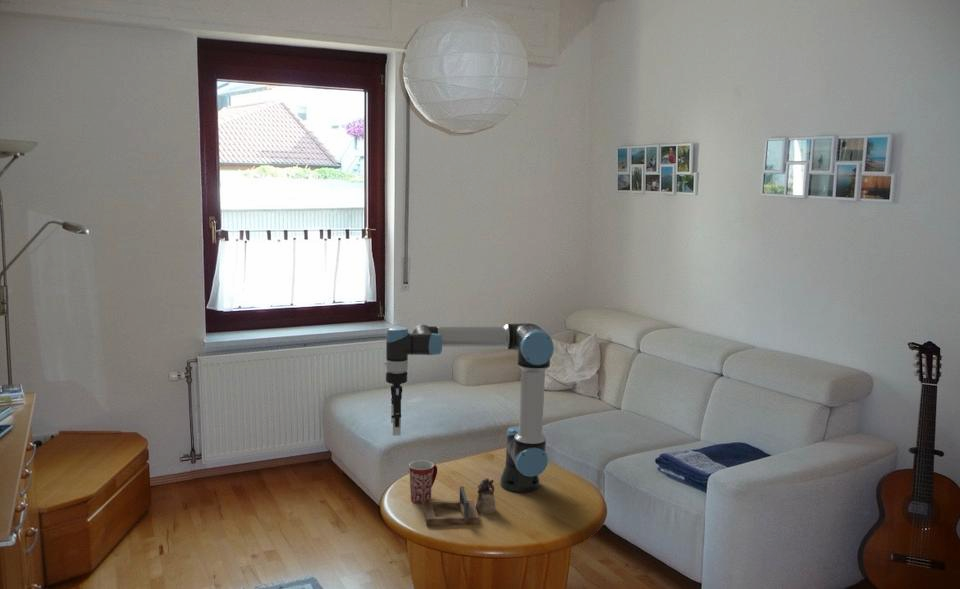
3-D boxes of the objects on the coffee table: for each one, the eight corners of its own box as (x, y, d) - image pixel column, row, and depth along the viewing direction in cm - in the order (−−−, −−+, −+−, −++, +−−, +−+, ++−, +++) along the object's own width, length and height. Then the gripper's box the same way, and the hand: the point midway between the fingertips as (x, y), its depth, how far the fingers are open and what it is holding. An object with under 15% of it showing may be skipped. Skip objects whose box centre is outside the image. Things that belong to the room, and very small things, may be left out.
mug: (420, 507, 286) (421, 471, 284) (403, 499, 292) (403, 464, 289) (444, 497, 295) (445, 462, 293) (427, 490, 301) (428, 455, 299)
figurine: (481, 504, 290) (483, 473, 288) (498, 509, 286) (500, 477, 284) (471, 511, 284) (472, 479, 282) (489, 516, 280) (490, 484, 278)
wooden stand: (473, 507, 287) (473, 486, 286) (478, 524, 274) (479, 502, 272) (423, 508, 284) (423, 487, 283) (426, 526, 271) (427, 503, 270)
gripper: (384, 362, 292) (383, 418, 296) (387, 380, 268) (386, 440, 271) (405, 362, 293) (404, 417, 297) (409, 380, 269) (408, 440, 272)
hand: (395, 428), depth 284 cm, fingers open, 13 cm apart
